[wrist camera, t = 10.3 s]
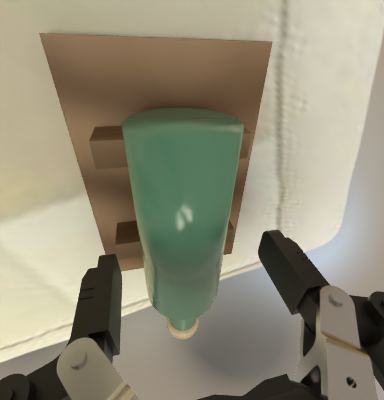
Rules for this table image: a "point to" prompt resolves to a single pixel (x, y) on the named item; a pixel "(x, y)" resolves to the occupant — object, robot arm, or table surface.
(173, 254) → the bottle
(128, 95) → the bottle rest
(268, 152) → the table surface
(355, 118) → the table surface
